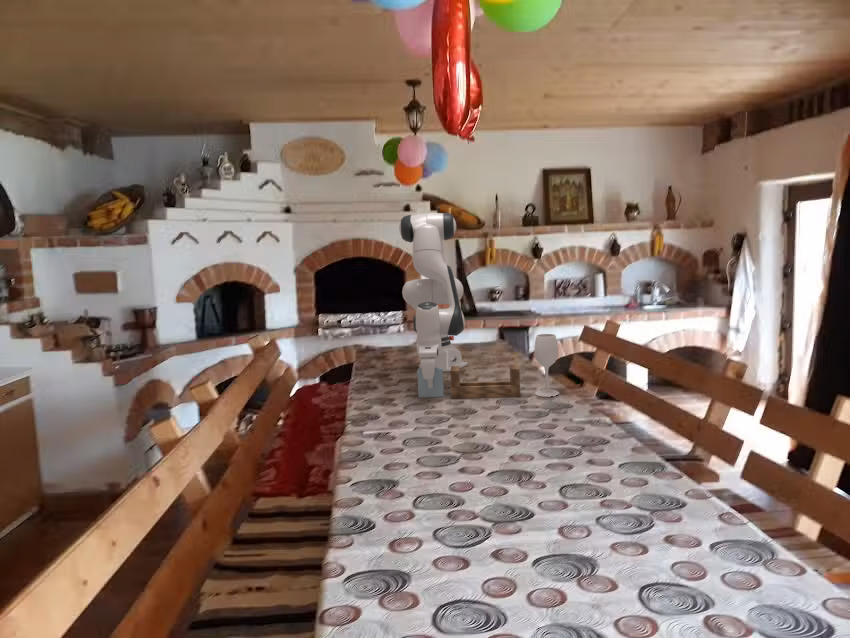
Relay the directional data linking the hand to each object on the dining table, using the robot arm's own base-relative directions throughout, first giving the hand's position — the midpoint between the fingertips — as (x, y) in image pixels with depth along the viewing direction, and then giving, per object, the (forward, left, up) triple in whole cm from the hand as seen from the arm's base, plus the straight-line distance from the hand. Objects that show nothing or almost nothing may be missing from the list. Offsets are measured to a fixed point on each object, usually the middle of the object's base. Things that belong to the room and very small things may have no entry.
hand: (430, 386), depth 235 cm
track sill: (-11, +16, -4) cm, 20 cm away
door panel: (0, 0, -4) cm, 4 cm away
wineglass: (-23, +34, -4) cm, 41 cm away
